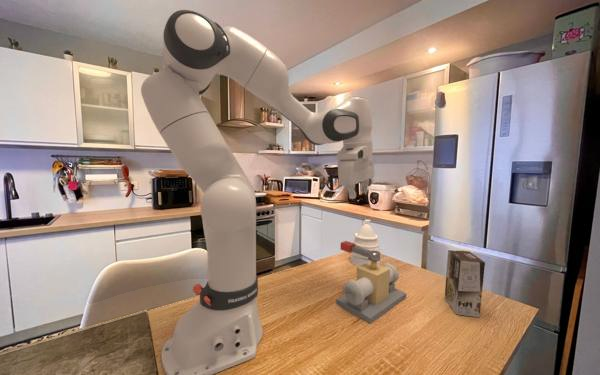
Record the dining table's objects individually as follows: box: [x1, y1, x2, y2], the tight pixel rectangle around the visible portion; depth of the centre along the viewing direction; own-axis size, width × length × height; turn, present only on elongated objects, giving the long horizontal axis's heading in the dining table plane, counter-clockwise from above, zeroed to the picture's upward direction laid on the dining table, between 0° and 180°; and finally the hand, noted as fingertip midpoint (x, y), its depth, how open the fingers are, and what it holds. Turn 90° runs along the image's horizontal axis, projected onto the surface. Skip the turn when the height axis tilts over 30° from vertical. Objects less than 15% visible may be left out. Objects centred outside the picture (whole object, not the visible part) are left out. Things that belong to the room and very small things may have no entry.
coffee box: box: [444, 249, 486, 318], centre depth 72 cm, size 9×6×16 cm
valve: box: [335, 261, 407, 325], centre depth 75 cm, size 20×12×13 cm, turn 130°
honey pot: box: [349, 219, 382, 267], centre depth 105 cm, size 13×13×18 cm
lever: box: [339, 240, 380, 261], centre depth 78 cm, size 14×4×2 cm, turn 41°
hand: (358, 195), depth 78 cm, fingers open, 8 cm apart
